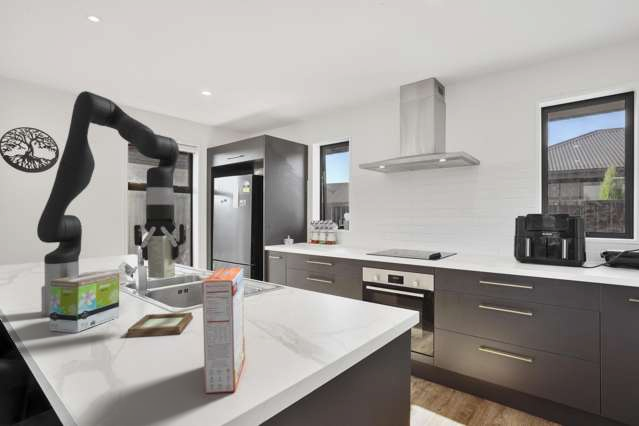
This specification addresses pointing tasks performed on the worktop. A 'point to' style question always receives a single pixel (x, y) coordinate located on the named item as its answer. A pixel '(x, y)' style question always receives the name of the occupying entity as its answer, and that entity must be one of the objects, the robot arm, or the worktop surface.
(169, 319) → the brown wooden picture frame
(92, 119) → the robot arm
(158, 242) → the skincare box
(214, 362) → the cracker box
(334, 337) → the worktop surface
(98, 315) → the tea box
